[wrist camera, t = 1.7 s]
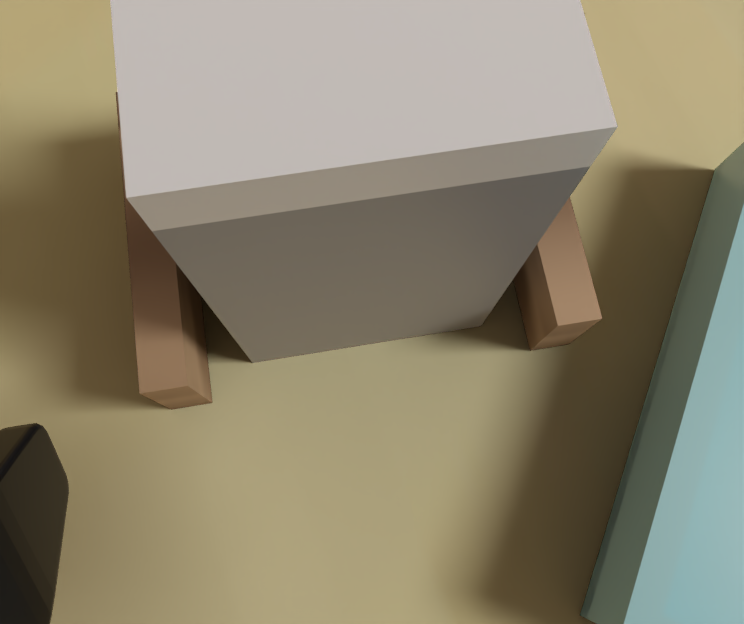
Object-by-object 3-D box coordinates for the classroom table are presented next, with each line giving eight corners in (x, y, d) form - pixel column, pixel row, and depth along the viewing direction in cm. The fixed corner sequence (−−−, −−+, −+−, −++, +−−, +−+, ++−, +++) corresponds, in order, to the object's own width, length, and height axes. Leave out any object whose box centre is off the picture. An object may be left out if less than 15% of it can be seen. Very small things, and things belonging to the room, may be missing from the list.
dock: (568, 344, 21) (602, 318, 18) (171, 409, 20) (139, 393, 17) (505, 95, 23) (527, 37, 20) (147, 145, 22) (115, 92, 19)
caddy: (481, 326, 21) (617, 126, 10) (252, 362, 20) (126, 197, 9) (450, 187, 22) (541, -130, 11) (234, 219, 22) (105, -77, 11)
